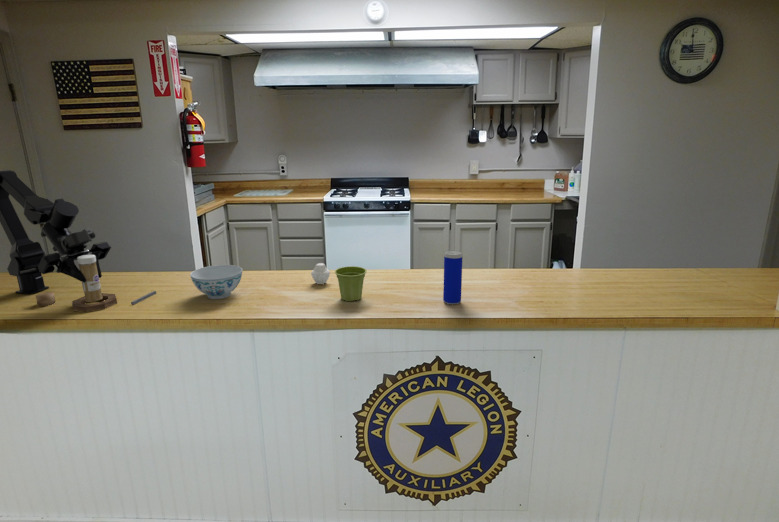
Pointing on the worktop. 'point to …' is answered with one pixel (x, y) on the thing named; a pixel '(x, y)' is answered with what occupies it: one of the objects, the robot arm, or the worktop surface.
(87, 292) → the sprinkles bottle
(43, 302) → the small wooden bead
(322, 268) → the white owl figurine
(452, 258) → the beverage can
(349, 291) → the plant pot
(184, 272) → the worktop surface
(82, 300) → the walnut ring
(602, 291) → the worktop surface
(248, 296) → the worktop surface
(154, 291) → the grey rectangular bar
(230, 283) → the chinaware
